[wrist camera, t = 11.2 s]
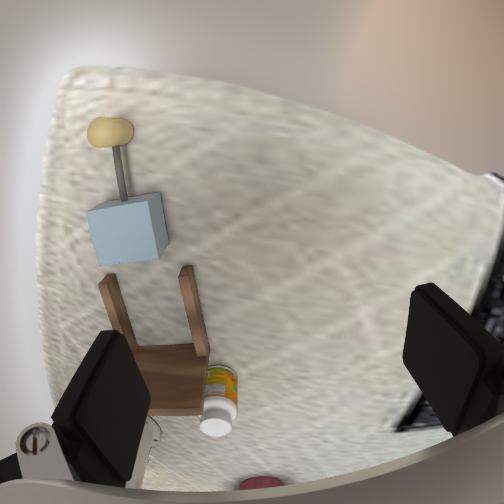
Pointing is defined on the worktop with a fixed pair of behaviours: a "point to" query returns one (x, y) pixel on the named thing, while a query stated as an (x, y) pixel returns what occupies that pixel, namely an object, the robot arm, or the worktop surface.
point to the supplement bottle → (219, 401)
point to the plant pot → (260, 483)
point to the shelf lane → (167, 353)
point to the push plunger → (124, 207)
